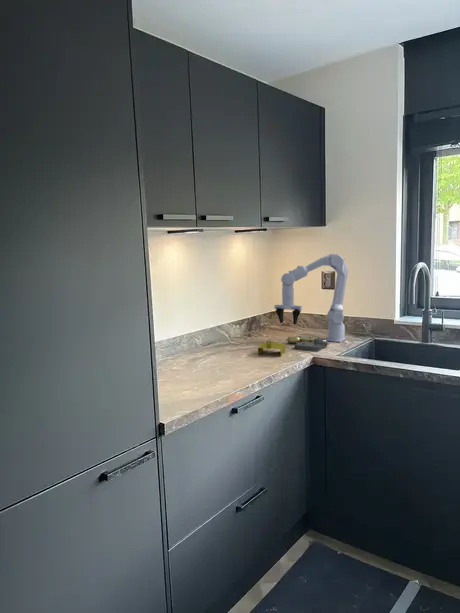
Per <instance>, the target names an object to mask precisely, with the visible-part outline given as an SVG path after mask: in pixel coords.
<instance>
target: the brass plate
mask: <svg viewBox="0 0 460 613" xmlns="http://www.w3.org/2000/svg"><path fill="white" fill-rule="evenodd" d="M315 339H319V340H320V337H319V336H309V335H301V334H299V335H293V336H288V337H287V338H286V341H287V343H288V344H294V345H295V344H297V343H300V342H310V343H314V340H315Z"/></svg>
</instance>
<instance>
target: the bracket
mask: <svg viewBox="0 0 460 613" xmlns="http://www.w3.org/2000/svg"><path fill="white" fill-rule="evenodd" d="M264 349H267V350H268V349H269V350H273V349H274V350H275V349H276V350H280V357H282V356H283V355H284V353H285V352H286V343H278V341H270V340H267V341H266V342H263V343H262V344H260V345H259V346H258V347H257V356H260V354H262V352H264ZM282 354H283V355H282Z"/></svg>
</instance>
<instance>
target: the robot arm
mask: <svg viewBox="0 0 460 613" xmlns="http://www.w3.org/2000/svg"><path fill="white" fill-rule="evenodd" d="M325 266H328V267H331V268H333V270H334V271H335V273H336V279H335V285H334V292H333V298H332V304H331V305H330V306H329V307H330V308H329V311H328V312H327V319H328V321H327V322H328V323H327V325H328V326H327V327H328V328H327V329H328V333H327V334H328V335H327V336H328V338H326V339H325V340H327V342H336V343H341V342H344V340H347V337H345V336H346V326H345V324H344V323H343V322H344V319H345V316H344V307H343V306H344V305H343V304H344V298H345V293H346V292H345V291H346V286H347V280H348V274H349V269H348V267H347V264H346V261H345V259H344V257H342V255H340V254H339V253H335V254H334V253H330V254H328V255H325V256H322V257H320V258H318V259H316V260H315V261H313V262H311V263H309V264H308V265H306V266H303V265H297V266H296V268H294V269H292V270H288V272H287V273H286V272H285V273H283V274H282V276H281V278H280V282H281V283H282V285H281V287H282V288H281V301H282V302H281V304H274V309H275V313H276V315H277V317H278V321H279V324H283V323H284V311H285V310H292V318H293V325H297V323H298V319H299V316H300V315H301V314H300V313H301V312H302V310H303V305H295V303H294V301H295V300H294V299H295V298H294V294H295V293H294V283H295V282H297V281H299V280H302V279H303V278H305V277H307V276H308V274H309V273H310V272H312V271H314V270H317V269H318V268H321V267H325Z"/></svg>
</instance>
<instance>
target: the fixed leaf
mask: <svg viewBox="0 0 460 613" xmlns="http://www.w3.org/2000/svg"><path fill="white" fill-rule="evenodd" d="M329 345H330V343H329V341H327V340H326V339H320V338H319V339H315V340H314V343H310V342H300V343H297V344H294V350H300V349H301V350H302V351H311V352H320V351H321V350H324V349H325V348H327V347H328V346H329ZM301 350H300V351H301Z"/></svg>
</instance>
